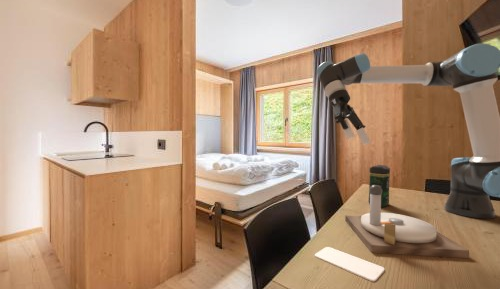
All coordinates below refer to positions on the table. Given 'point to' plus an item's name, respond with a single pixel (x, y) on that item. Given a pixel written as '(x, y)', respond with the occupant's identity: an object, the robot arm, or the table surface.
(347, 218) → the stand
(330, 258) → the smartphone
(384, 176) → the coffee jar
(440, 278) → the table surface
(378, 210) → the dial
